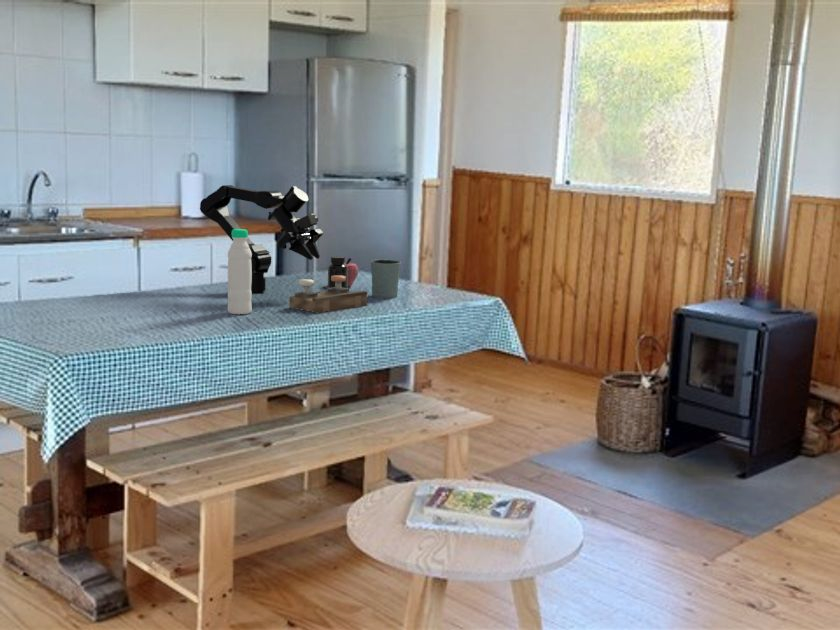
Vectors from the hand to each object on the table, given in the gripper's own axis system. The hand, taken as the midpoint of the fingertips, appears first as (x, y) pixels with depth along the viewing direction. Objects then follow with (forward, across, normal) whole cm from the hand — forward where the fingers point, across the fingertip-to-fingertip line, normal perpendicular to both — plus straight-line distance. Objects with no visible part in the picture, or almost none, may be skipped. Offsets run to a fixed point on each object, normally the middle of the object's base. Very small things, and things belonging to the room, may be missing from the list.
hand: (315, 258), depth 318 cm
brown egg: (+14, 0, +1) cm, 14 cm away
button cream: (+12, -14, +3) cm, 18 cm away
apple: (+4, +30, +15) cm, 34 cm away
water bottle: (+7, -33, +13) cm, 36 cm away
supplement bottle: (+7, +19, +12) cm, 23 cm away
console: (+17, -7, +2) cm, 19 cm away
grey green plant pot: (+20, +21, 0) cm, 29 cm away
